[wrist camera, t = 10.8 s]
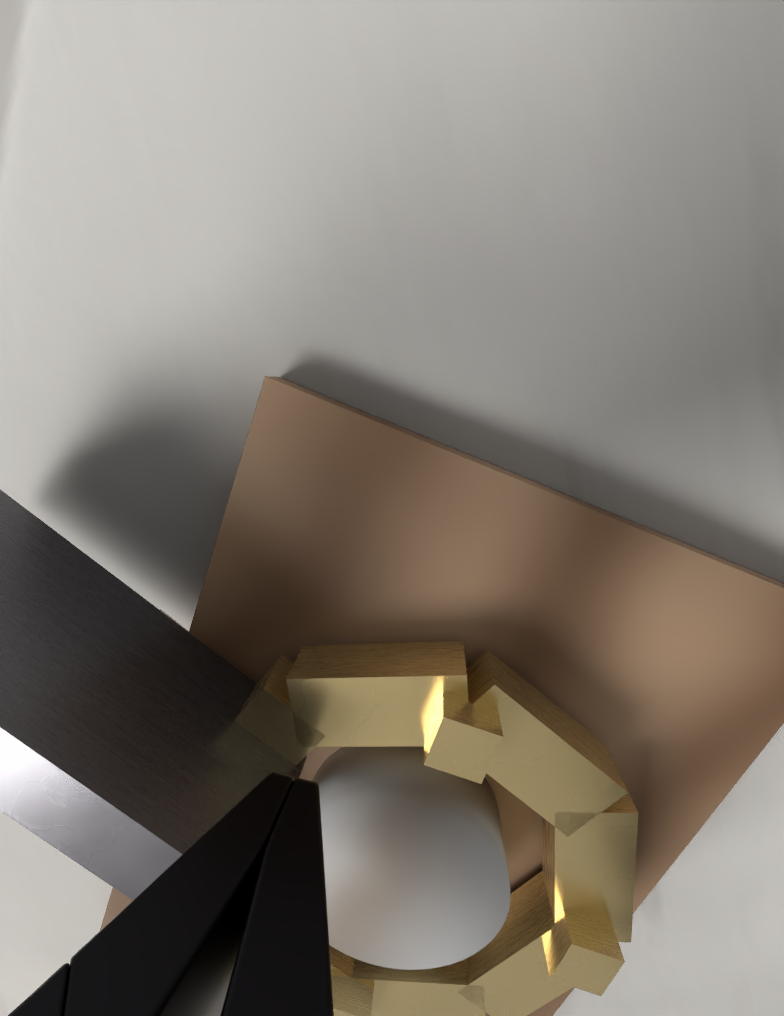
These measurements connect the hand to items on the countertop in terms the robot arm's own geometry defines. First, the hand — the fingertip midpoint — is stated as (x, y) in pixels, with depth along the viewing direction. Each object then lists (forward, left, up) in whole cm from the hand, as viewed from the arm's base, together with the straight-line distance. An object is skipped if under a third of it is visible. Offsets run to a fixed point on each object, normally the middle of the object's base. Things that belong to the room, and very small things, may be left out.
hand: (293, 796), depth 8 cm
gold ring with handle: (+1, +4, -5) cm, 6 cm away
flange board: (-4, +5, -6) cm, 9 cm away
